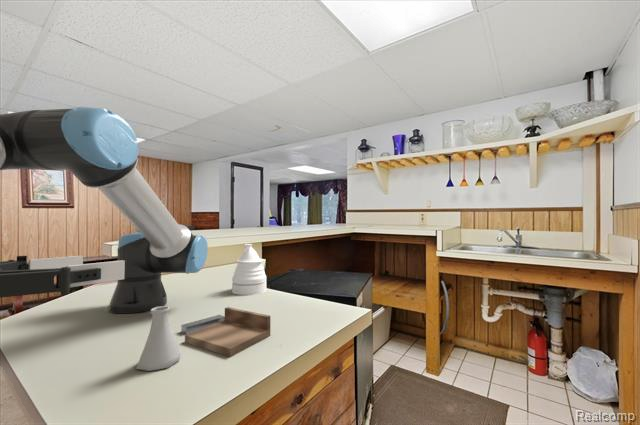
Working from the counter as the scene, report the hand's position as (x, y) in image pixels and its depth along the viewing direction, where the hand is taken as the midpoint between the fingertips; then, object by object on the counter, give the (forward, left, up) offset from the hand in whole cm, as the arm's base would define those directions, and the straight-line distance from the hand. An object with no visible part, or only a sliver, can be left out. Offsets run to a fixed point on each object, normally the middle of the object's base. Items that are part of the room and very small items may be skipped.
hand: (101, 266), depth 45 cm
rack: (+3, +24, -19) cm, 31 cm away
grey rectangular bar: (-8, +26, -19) cm, 33 cm away
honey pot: (-26, +60, -19) cm, 68 cm away
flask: (0, +10, -19) cm, 22 cm away
